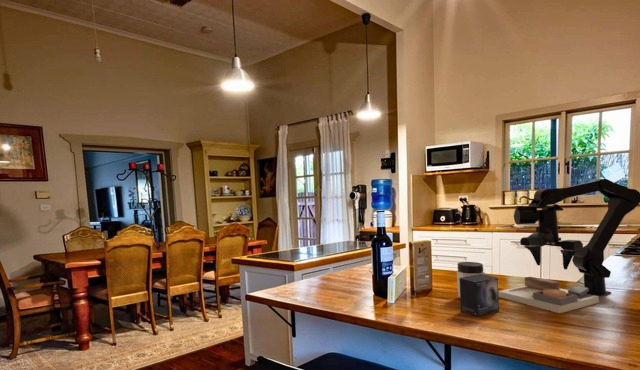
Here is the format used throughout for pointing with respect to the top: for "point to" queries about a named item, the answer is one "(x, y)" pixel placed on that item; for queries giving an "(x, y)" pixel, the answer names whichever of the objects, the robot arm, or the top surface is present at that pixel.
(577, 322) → the top surface
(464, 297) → the small box
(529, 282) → the slider bar
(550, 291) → the push button
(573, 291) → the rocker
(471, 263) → the jar
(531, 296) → the panel
